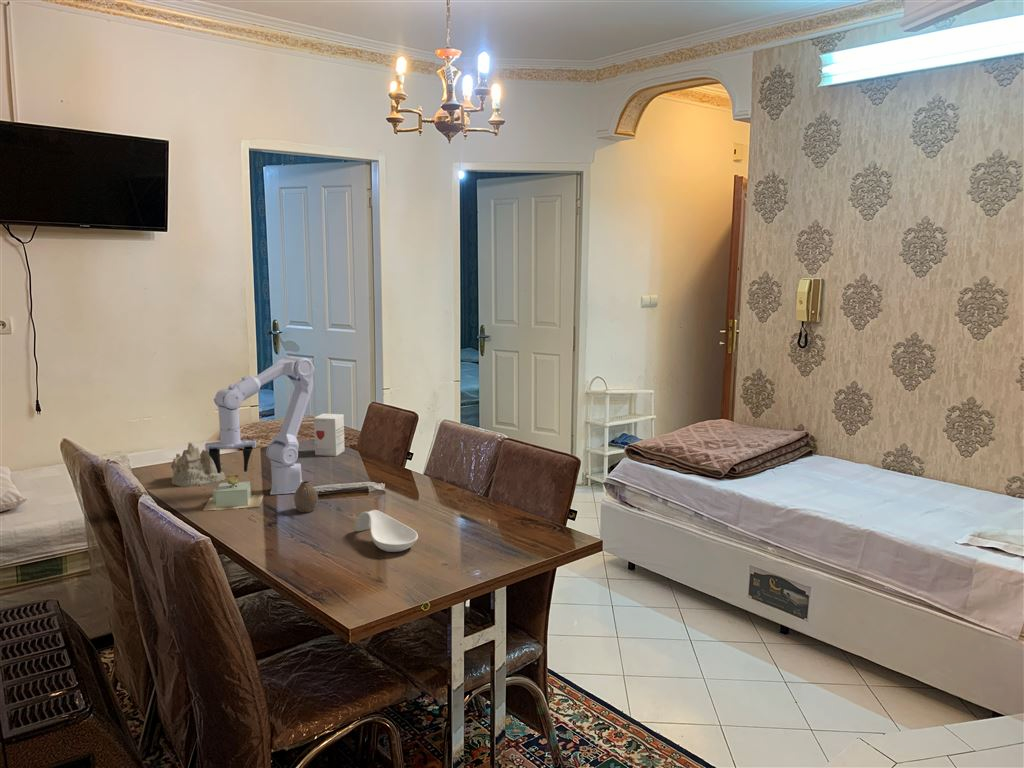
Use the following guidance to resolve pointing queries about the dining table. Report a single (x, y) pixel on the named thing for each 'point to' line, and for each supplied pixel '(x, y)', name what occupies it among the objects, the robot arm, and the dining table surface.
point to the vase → (305, 497)
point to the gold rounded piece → (232, 479)
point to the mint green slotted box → (232, 494)
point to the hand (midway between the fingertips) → (232, 471)
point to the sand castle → (195, 468)
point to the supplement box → (329, 434)
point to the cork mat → (254, 502)
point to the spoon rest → (386, 531)
